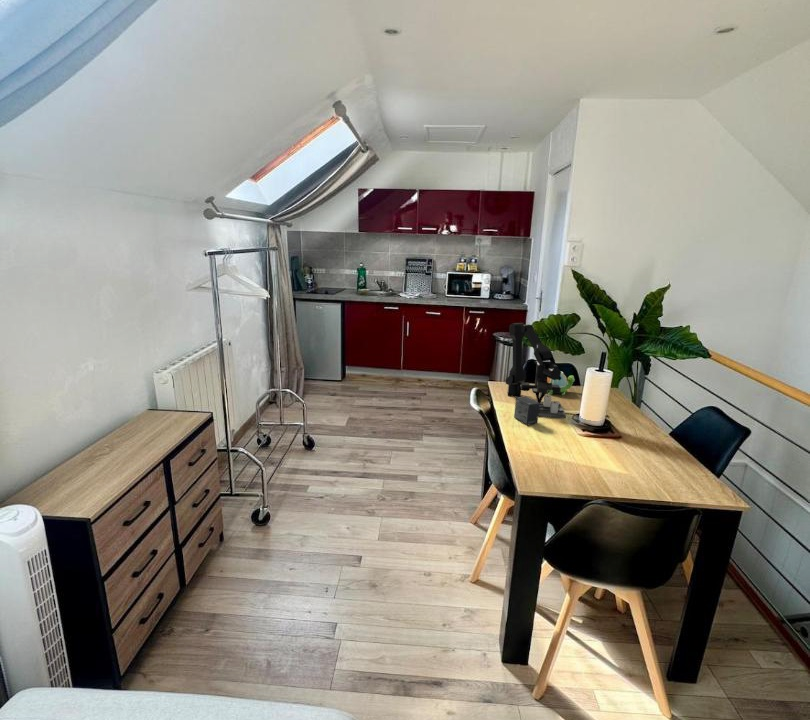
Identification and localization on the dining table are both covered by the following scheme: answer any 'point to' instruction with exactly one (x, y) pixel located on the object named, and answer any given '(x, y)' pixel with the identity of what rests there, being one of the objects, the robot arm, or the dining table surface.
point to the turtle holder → (562, 383)
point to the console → (546, 412)
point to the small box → (526, 410)
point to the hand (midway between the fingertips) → (538, 403)
